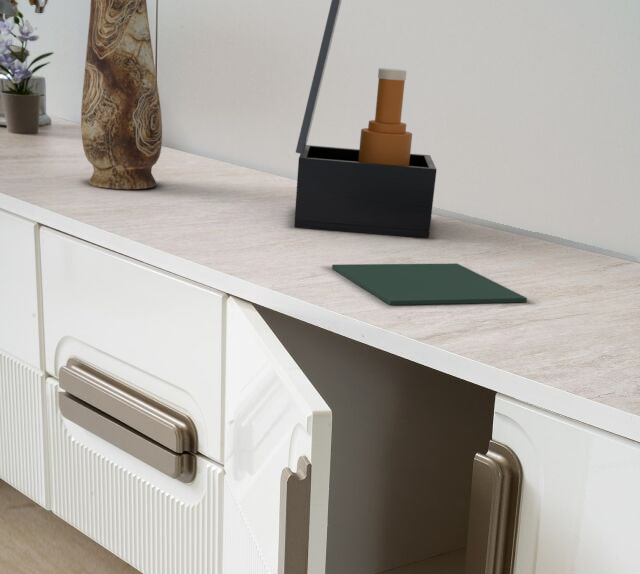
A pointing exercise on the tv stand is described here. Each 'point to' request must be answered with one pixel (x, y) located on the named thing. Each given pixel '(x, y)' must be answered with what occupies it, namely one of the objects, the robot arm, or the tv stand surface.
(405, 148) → the bottle
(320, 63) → the lid
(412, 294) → the mat
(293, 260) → the tv stand surface
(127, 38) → the vase
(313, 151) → the black rectangular box
